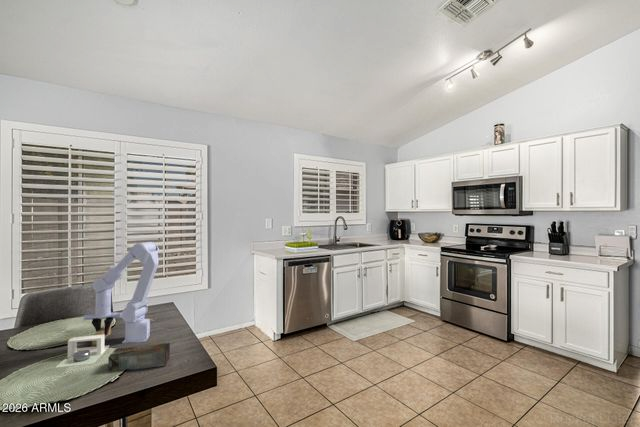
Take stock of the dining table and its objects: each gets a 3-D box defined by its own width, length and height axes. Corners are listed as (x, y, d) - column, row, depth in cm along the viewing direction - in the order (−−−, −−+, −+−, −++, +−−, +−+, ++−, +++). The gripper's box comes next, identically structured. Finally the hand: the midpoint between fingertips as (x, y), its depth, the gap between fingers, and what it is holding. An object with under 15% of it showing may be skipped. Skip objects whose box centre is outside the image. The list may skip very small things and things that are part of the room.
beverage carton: (115, 363, 118) (115, 346, 118) (170, 357, 123) (170, 340, 123) (107, 373, 110) (107, 355, 110) (166, 367, 115) (167, 349, 115)
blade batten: (110, 333, 147) (111, 323, 148) (97, 346, 132) (98, 335, 132) (105, 333, 147) (105, 323, 147) (91, 347, 132) (92, 336, 132)
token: (91, 355, 122) (91, 349, 122) (87, 361, 118) (87, 354, 118) (76, 357, 121) (76, 351, 121) (71, 363, 116) (71, 356, 116)
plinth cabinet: (104, 351, 127) (104, 334, 127) (100, 355, 123) (101, 338, 123) (72, 354, 124) (72, 337, 124) (67, 359, 120) (67, 341, 120)
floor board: (109, 346, 132) (110, 345, 132) (94, 364, 116) (94, 363, 116) (76, 349, 128) (76, 348, 129) (55, 369, 112) (55, 367, 112)
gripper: (124, 301, 146) (123, 330, 146) (88, 303, 142) (87, 333, 142) (119, 305, 140) (119, 335, 140) (81, 307, 135) (80, 338, 135)
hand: (102, 334), depth 140 cm, fingers closed on blade batten, 2 cm apart
